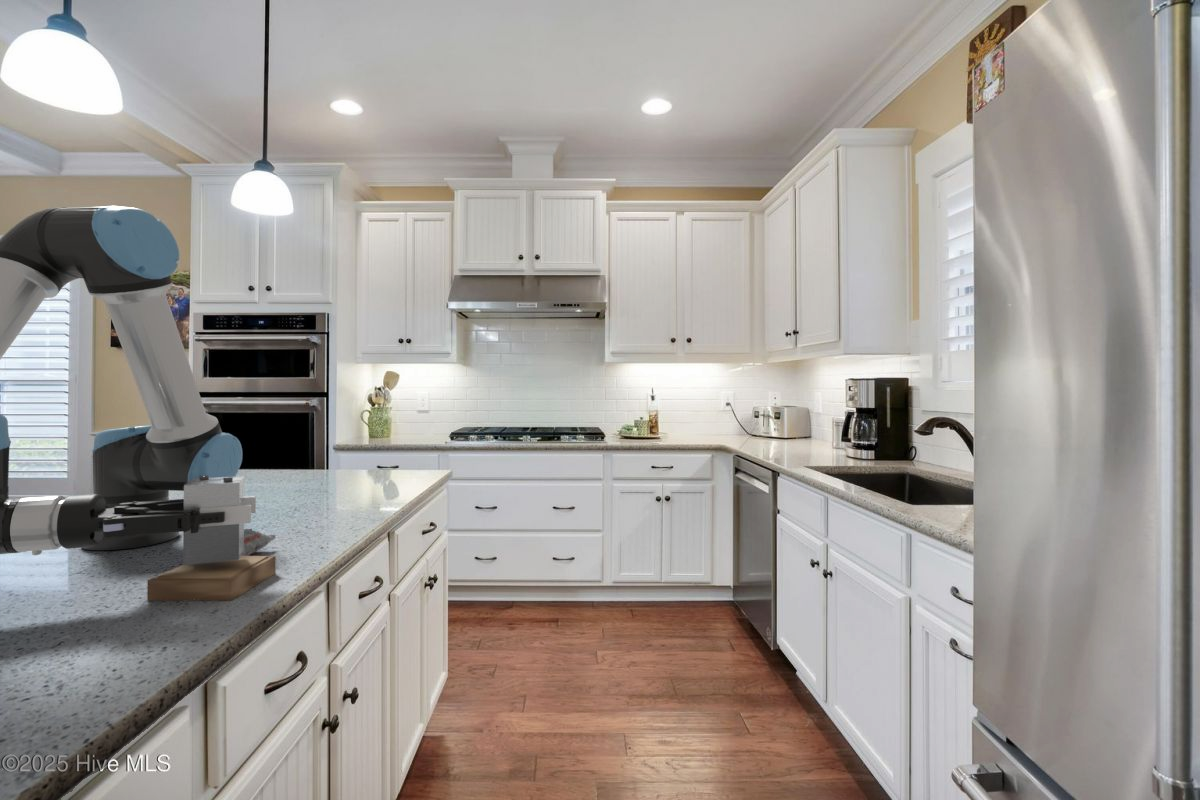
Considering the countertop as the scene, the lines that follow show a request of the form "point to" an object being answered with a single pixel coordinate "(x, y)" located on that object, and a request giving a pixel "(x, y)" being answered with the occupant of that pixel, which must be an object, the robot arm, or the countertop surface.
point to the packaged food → (254, 541)
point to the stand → (211, 579)
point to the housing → (213, 539)
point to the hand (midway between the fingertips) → (253, 509)
